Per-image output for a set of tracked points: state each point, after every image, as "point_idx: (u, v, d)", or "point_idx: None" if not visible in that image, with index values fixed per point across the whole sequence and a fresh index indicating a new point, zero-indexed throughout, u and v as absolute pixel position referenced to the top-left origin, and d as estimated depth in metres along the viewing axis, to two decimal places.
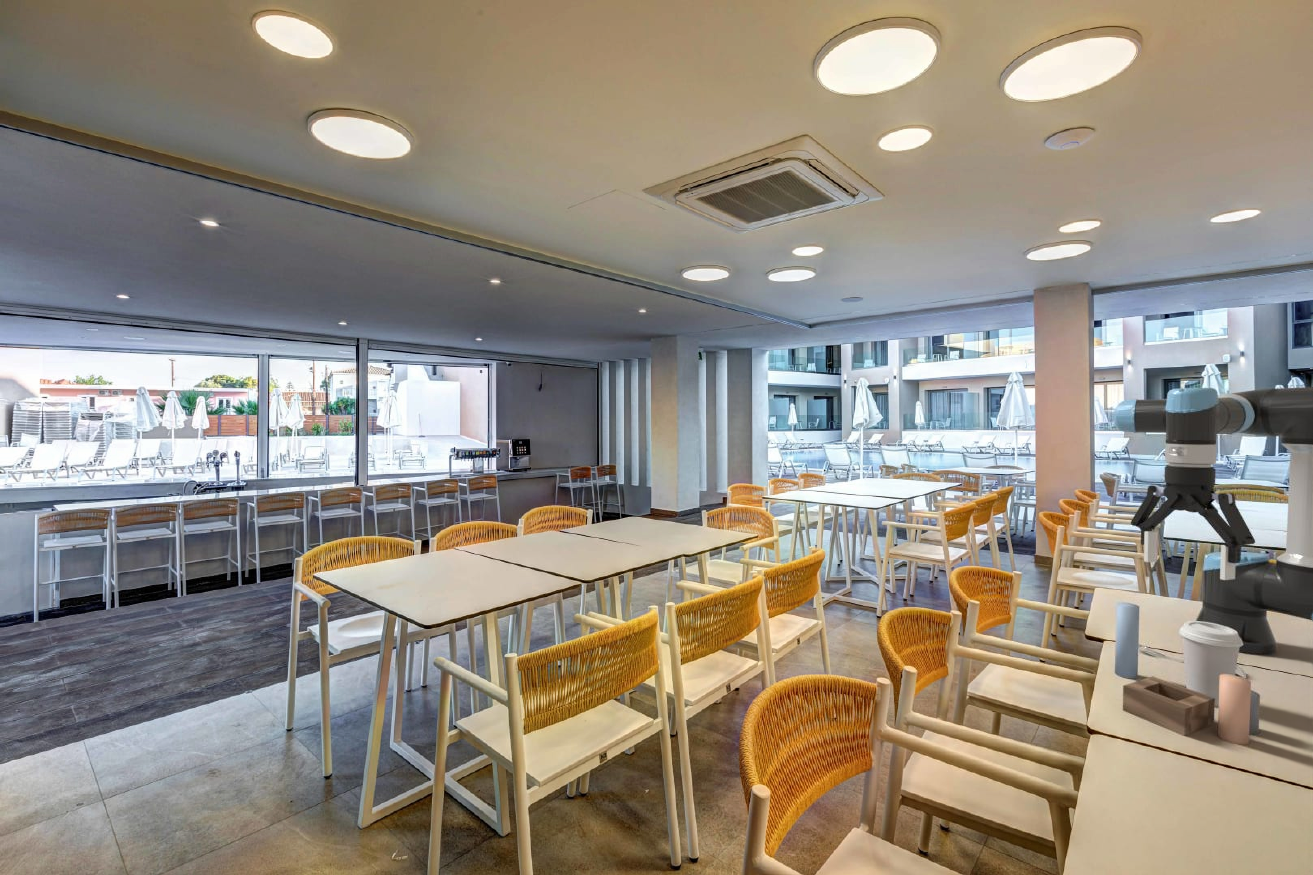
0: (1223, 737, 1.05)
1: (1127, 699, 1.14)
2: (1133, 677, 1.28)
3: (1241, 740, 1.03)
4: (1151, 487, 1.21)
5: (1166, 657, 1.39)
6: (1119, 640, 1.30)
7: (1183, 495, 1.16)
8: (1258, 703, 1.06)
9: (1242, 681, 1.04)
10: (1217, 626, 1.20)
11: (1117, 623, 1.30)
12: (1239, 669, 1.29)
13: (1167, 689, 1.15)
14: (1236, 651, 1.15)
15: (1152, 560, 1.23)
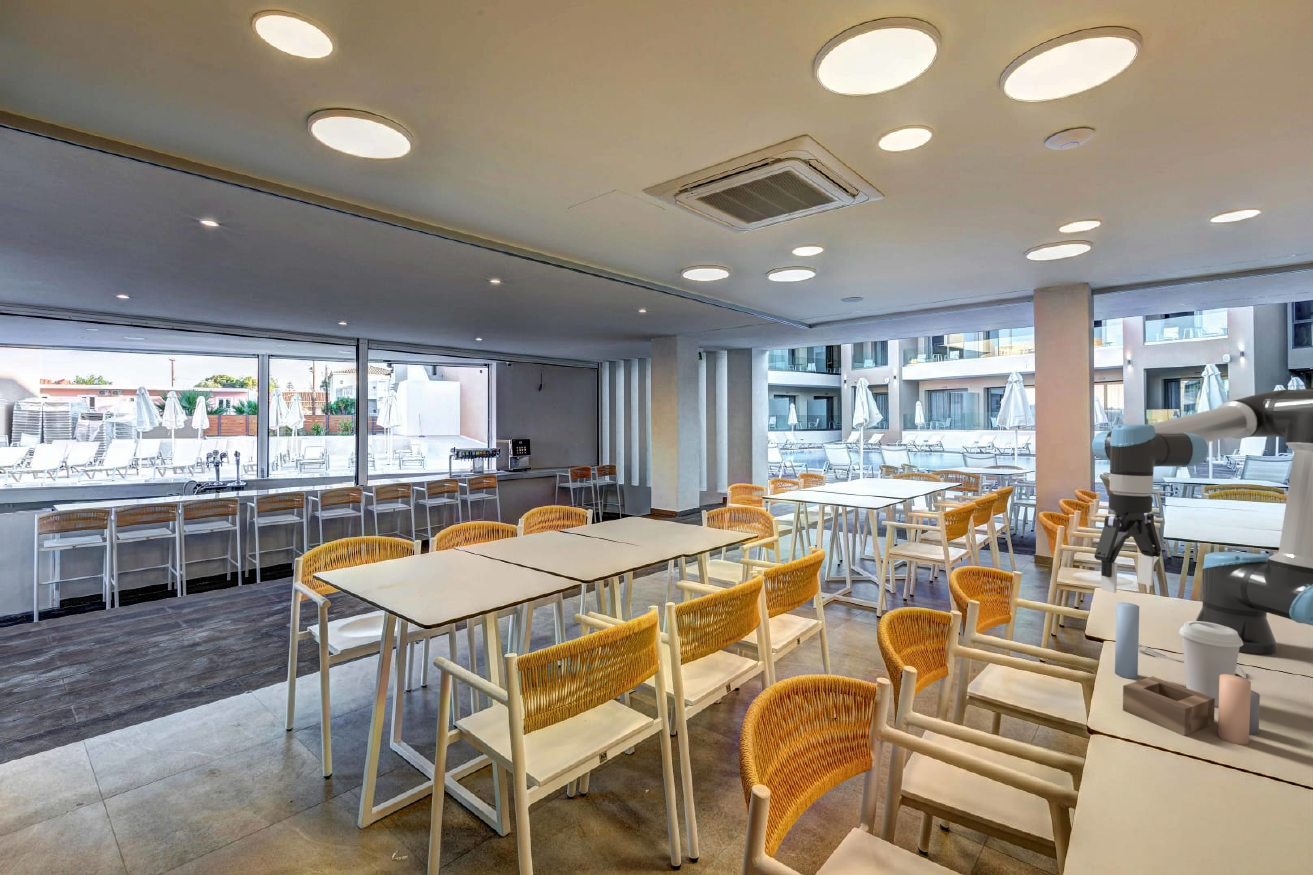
0: (1223, 737, 1.05)
1: (1127, 699, 1.14)
2: (1133, 677, 1.28)
3: (1241, 740, 1.03)
4: None
5: (1166, 657, 1.39)
6: (1119, 640, 1.30)
7: None
8: (1258, 703, 1.06)
9: (1242, 681, 1.04)
10: (1217, 626, 1.20)
11: (1117, 623, 1.30)
12: (1239, 669, 1.29)
13: (1167, 689, 1.15)
14: (1236, 651, 1.15)
15: (1144, 582, 1.32)
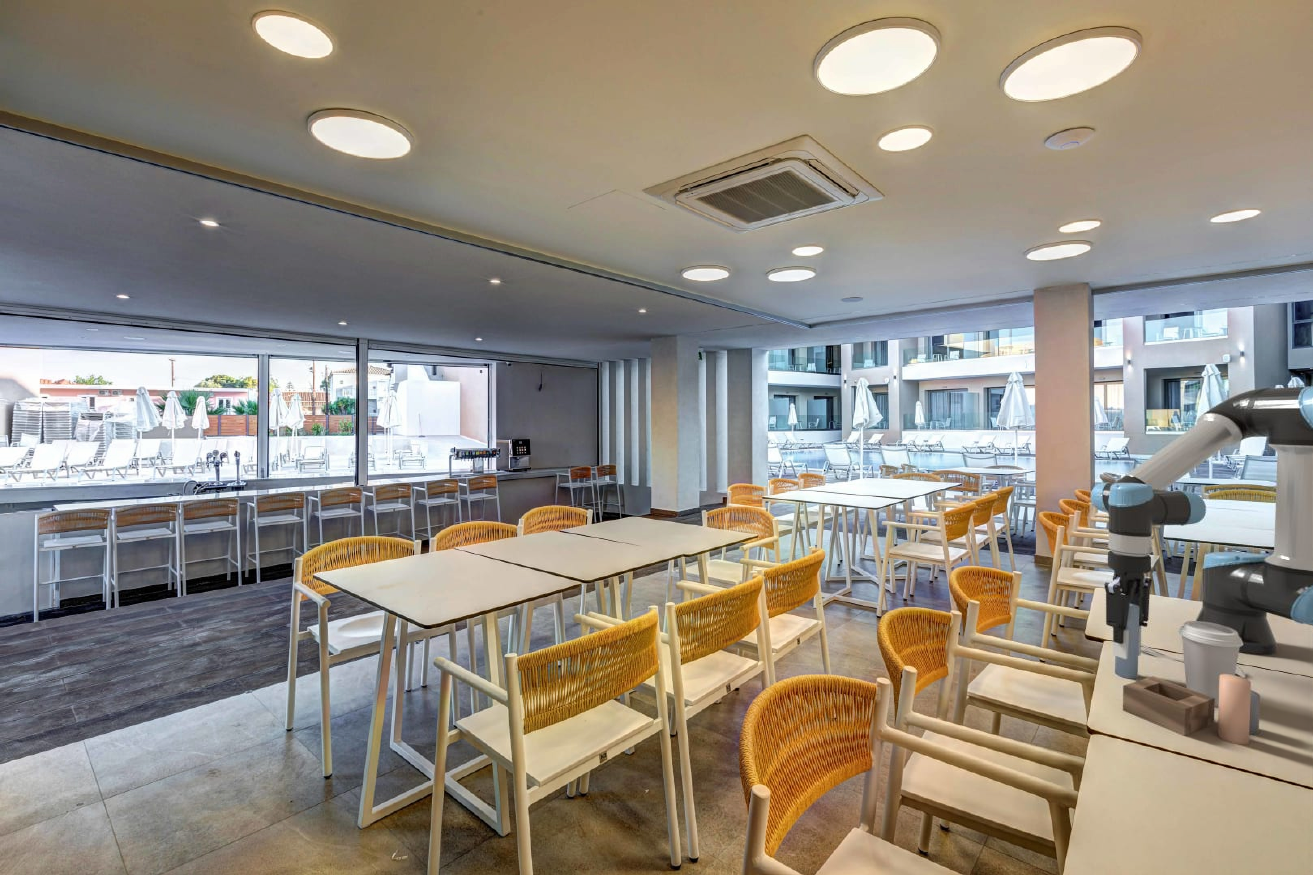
0: (1223, 737, 1.05)
1: (1127, 699, 1.14)
2: (1133, 677, 1.28)
3: (1241, 740, 1.03)
4: None
5: (1166, 656, 1.39)
6: None
7: None
8: (1258, 703, 1.06)
9: (1242, 681, 1.04)
10: (1217, 626, 1.20)
11: None
12: (1238, 669, 1.29)
13: (1167, 689, 1.15)
14: (1236, 651, 1.15)
15: None
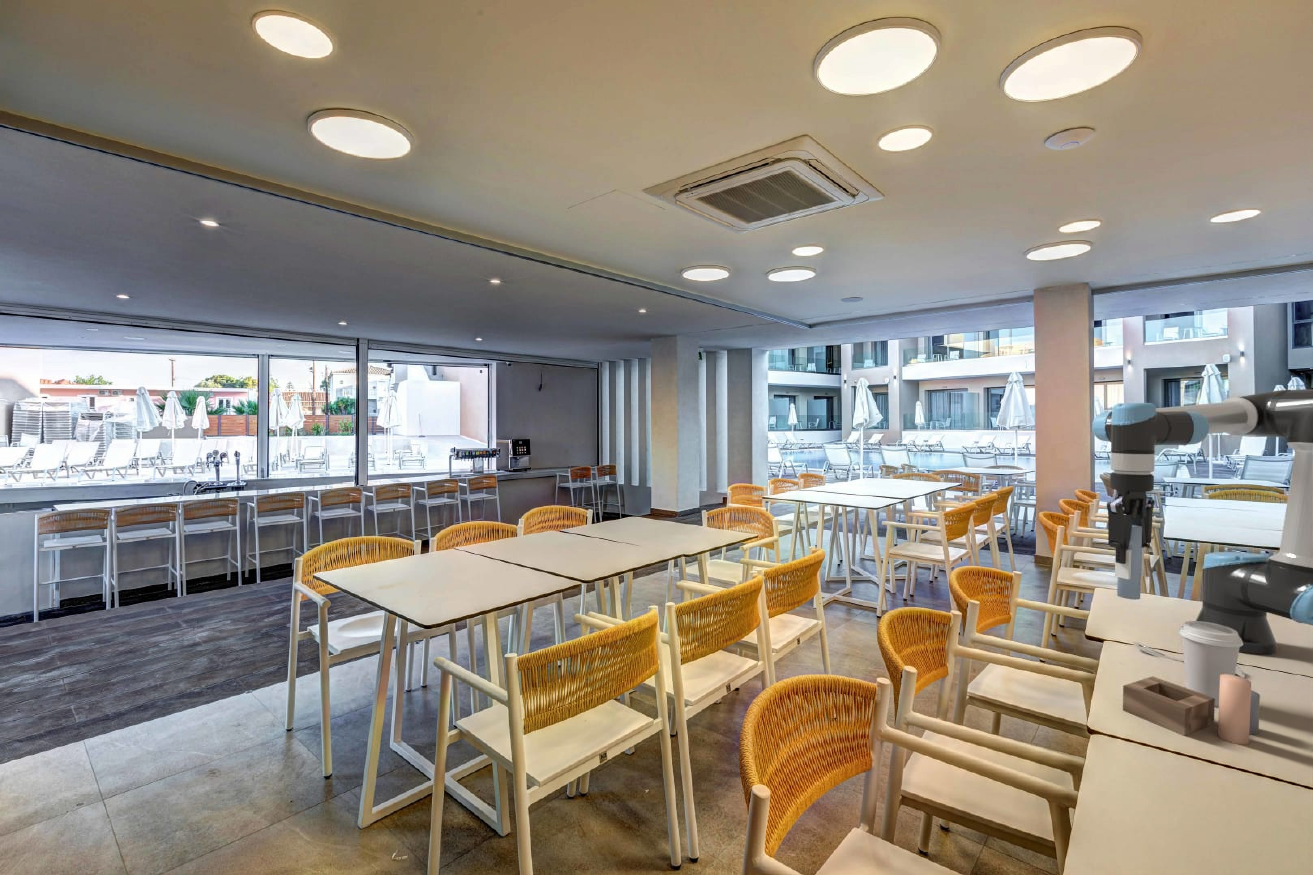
0: (1223, 737, 1.05)
1: (1127, 699, 1.14)
2: (1135, 598, 1.27)
3: (1241, 740, 1.03)
4: None
5: (1165, 656, 1.39)
6: None
7: None
8: (1258, 703, 1.06)
9: (1242, 681, 1.04)
10: (1217, 626, 1.20)
11: None
12: (1238, 669, 1.29)
13: (1167, 689, 1.15)
14: (1236, 651, 1.15)
15: None
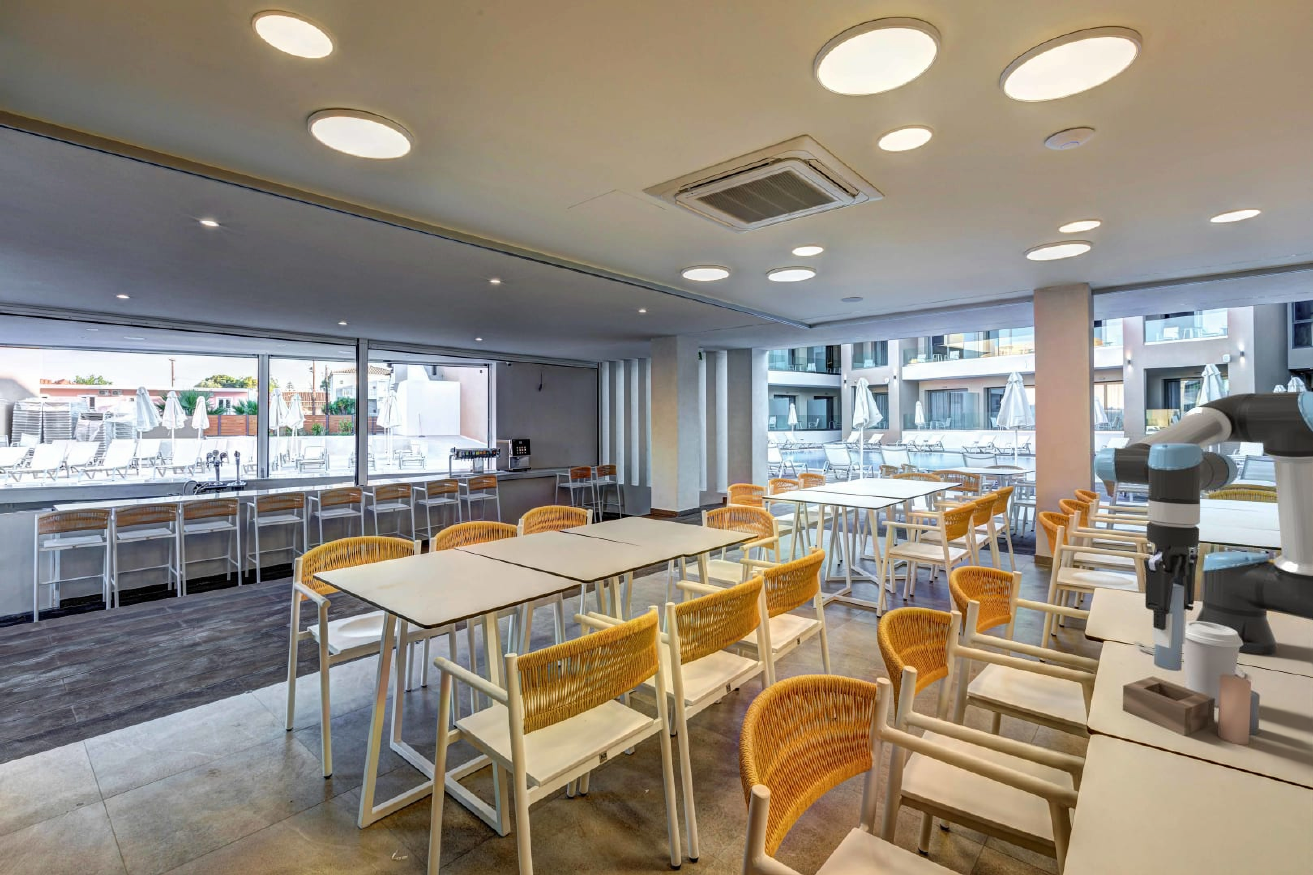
0: (1223, 737, 1.05)
1: (1127, 699, 1.14)
2: (1176, 669, 1.10)
3: (1241, 740, 1.03)
4: None
5: None
6: None
7: None
8: (1258, 703, 1.06)
9: (1242, 681, 1.04)
10: (1217, 626, 1.20)
11: None
12: (1237, 669, 1.29)
13: (1167, 689, 1.15)
14: (1236, 651, 1.15)
15: None
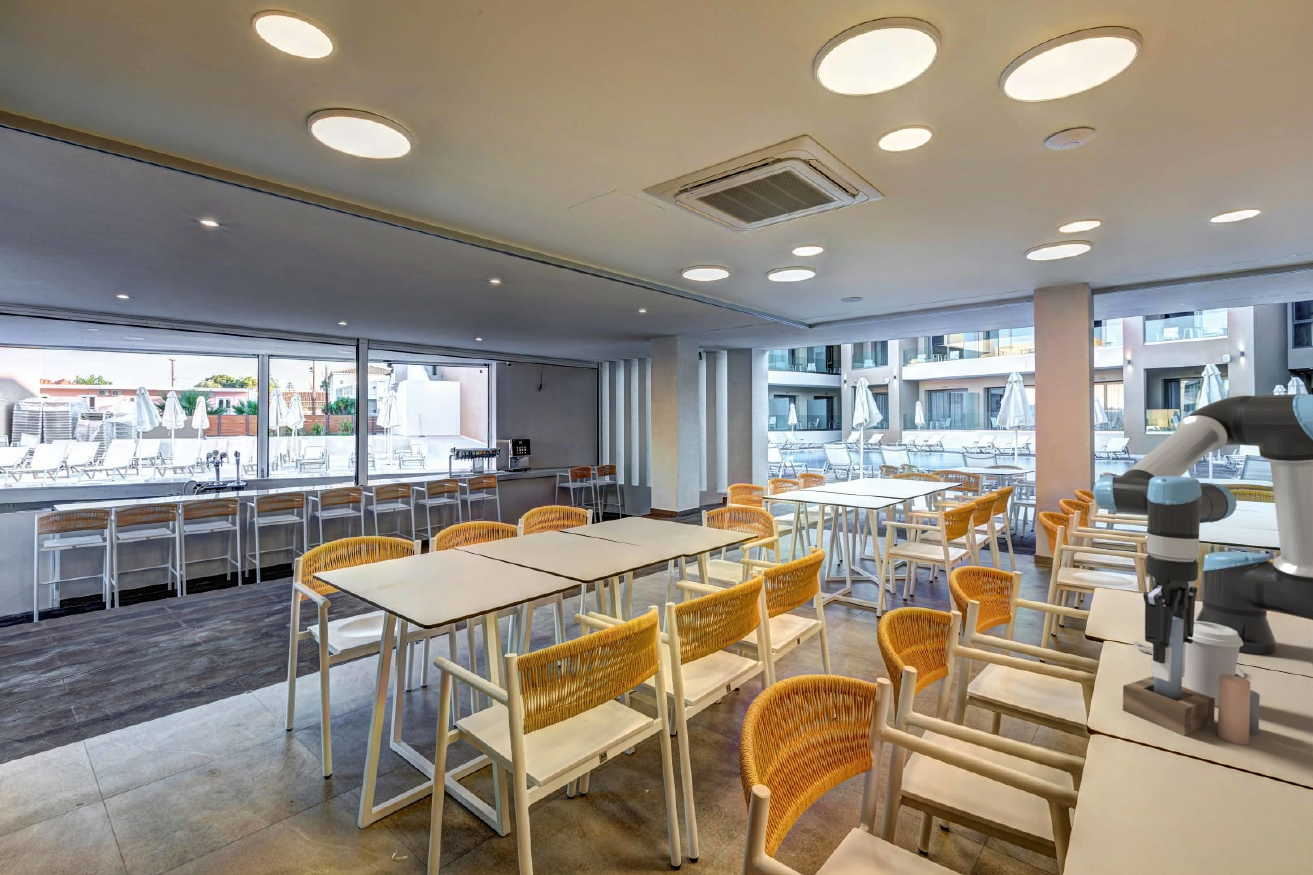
0: (1223, 737, 1.05)
1: (1127, 699, 1.14)
2: None
3: (1241, 740, 1.03)
4: None
5: None
6: None
7: None
8: (1258, 703, 1.06)
9: (1242, 681, 1.04)
10: (1217, 626, 1.20)
11: None
12: (1237, 668, 1.30)
13: None
14: (1236, 651, 1.15)
15: None
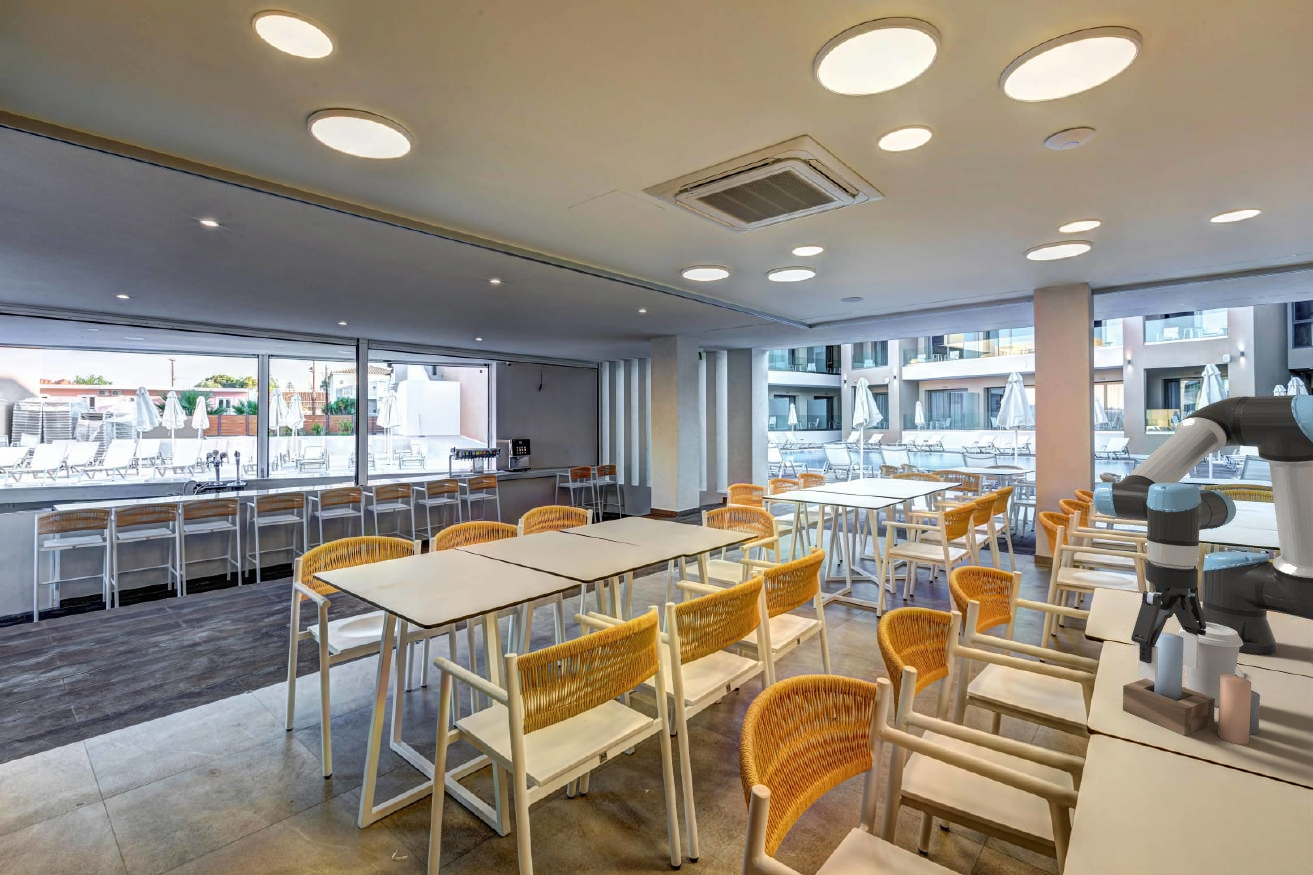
0: (1223, 737, 1.05)
1: (1127, 699, 1.14)
2: None
3: (1241, 740, 1.03)
4: None
5: None
6: (1159, 676, 1.12)
7: None
8: (1258, 703, 1.06)
9: (1243, 681, 1.04)
10: (1217, 626, 1.20)
11: None
12: (1236, 669, 1.29)
13: None
14: (1236, 651, 1.15)
15: (1187, 664, 1.15)
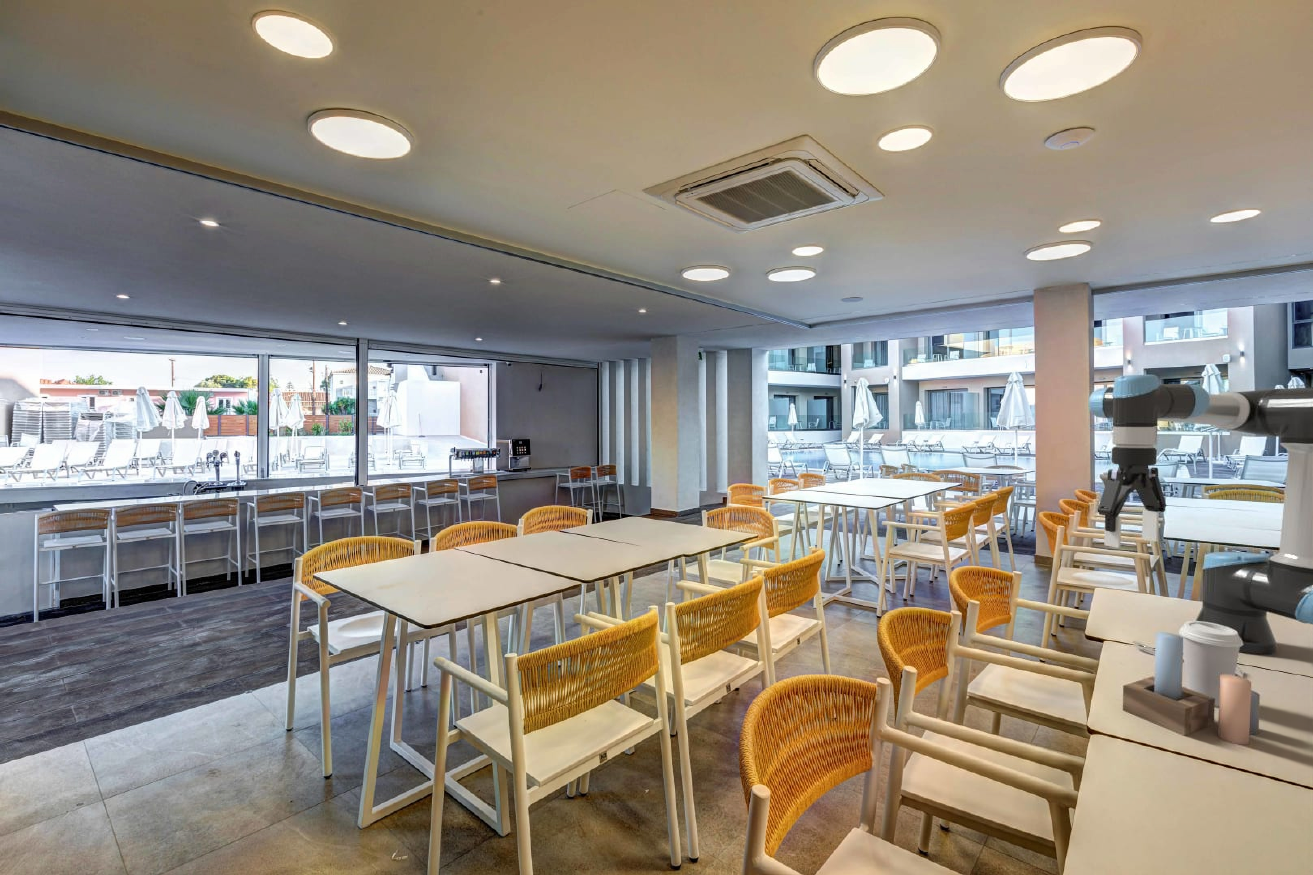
0: (1223, 737, 1.05)
1: (1127, 699, 1.14)
2: None
3: (1241, 740, 1.03)
4: None
5: None
6: (1159, 676, 1.12)
7: None
8: (1258, 703, 1.06)
9: (1243, 681, 1.04)
10: (1217, 626, 1.20)
11: (1157, 657, 1.12)
12: (1236, 668, 1.30)
13: None
14: (1236, 651, 1.15)
15: (1149, 539, 1.29)
